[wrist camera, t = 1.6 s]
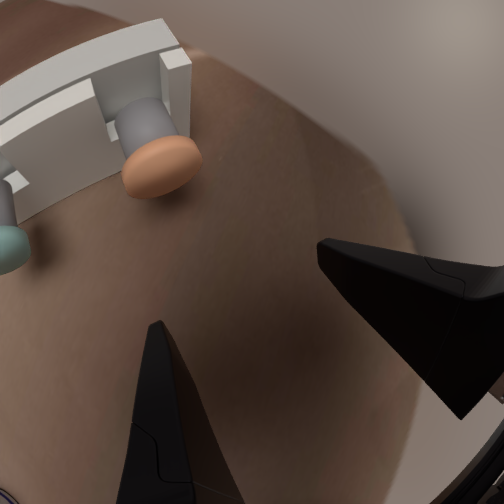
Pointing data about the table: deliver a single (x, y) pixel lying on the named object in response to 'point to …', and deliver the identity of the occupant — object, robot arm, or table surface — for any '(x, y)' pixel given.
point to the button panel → (85, 111)
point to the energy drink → (6, 498)
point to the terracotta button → (154, 150)
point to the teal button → (11, 233)
